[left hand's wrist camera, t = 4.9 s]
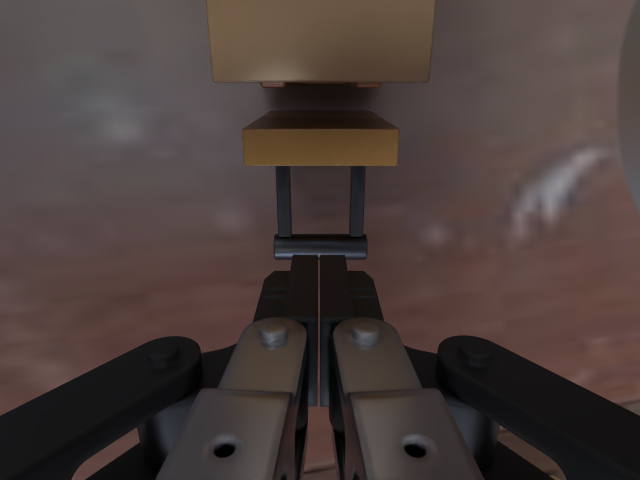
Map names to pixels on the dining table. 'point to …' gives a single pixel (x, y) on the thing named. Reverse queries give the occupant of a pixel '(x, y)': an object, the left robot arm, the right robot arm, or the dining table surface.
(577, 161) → the dining table surface
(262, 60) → the cabinet
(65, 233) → the dining table surface
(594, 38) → the dining table surface
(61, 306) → the dining table surface
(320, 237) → the drawer
